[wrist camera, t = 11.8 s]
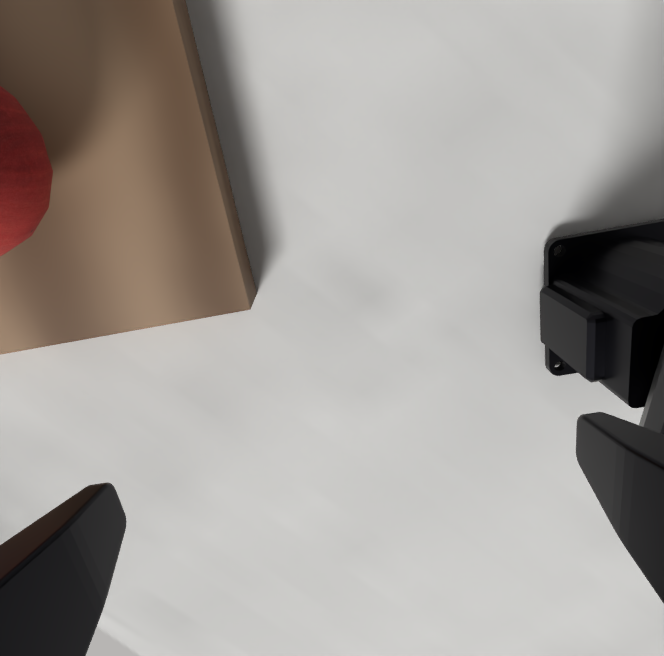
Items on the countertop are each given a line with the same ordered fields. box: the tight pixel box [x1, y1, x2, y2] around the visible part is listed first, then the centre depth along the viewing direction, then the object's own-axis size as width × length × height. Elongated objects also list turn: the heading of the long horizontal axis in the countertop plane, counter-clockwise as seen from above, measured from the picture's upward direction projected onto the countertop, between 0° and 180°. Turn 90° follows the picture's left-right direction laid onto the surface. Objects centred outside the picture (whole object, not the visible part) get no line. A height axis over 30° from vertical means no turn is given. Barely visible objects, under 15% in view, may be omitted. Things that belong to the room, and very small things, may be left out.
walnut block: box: [0, 0, 257, 354], centre depth 18 cm, size 14×14×3 cm
